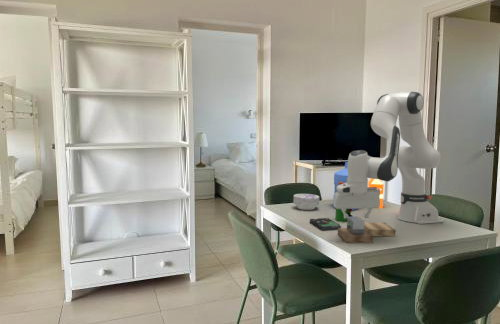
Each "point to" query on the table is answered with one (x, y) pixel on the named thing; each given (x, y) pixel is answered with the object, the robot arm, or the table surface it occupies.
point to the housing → (355, 225)
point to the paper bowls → (306, 201)
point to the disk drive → (325, 224)
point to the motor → (340, 214)
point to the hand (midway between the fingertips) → (356, 217)
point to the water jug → (341, 178)
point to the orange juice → (379, 185)
